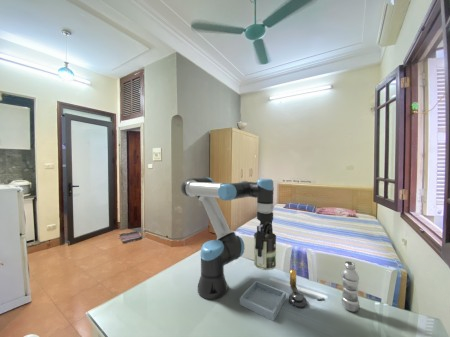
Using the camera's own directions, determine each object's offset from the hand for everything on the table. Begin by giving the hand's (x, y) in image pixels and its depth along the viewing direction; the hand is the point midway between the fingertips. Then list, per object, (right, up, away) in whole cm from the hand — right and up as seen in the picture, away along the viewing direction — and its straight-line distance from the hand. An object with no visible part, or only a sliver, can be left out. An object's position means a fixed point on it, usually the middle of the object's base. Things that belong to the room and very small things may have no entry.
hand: (264, 258), depth 89 cm
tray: (-1, -19, -2) cm, 19 cm away
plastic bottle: (+36, -19, -7) cm, 42 cm away
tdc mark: (+26, -19, -1) cm, 33 cm away
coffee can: (0, -3, 0) cm, 3 cm away
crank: (+15, -18, +1) cm, 23 cm away
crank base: (+15, -19, -2) cm, 24 cm away
